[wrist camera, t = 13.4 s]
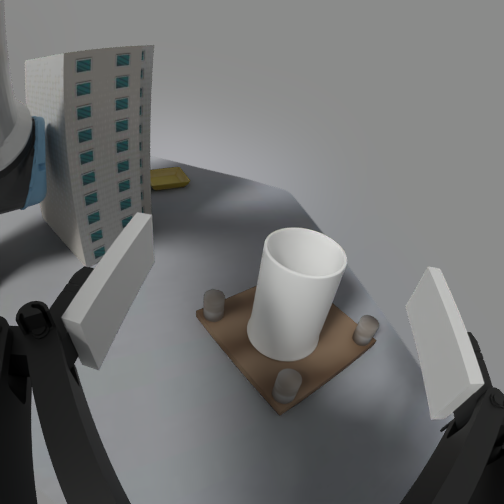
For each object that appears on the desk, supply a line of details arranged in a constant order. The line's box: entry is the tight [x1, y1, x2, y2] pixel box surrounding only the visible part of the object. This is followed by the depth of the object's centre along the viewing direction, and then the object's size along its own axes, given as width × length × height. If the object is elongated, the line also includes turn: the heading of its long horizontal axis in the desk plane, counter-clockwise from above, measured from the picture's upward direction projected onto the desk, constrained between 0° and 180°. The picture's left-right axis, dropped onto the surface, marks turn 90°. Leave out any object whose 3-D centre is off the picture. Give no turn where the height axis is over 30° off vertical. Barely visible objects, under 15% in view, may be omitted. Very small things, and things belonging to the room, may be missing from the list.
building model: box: [25, 45, 154, 267], centre depth 45 cm, size 20×16×30 cm
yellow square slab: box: [150, 167, 190, 191], centre depth 68 cm, size 9×9×2 cm
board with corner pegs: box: [196, 286, 379, 415], centre depth 37 cm, size 16×16×4 cm
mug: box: [247, 227, 347, 362], centre depth 35 cm, size 12×8×12 cm
